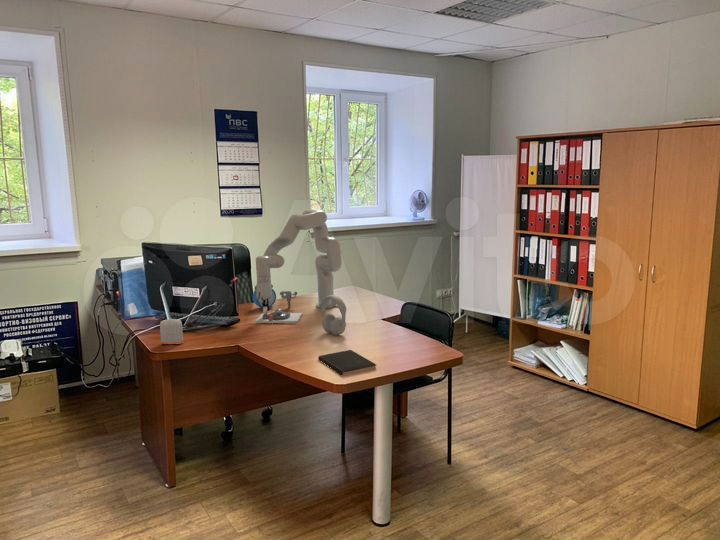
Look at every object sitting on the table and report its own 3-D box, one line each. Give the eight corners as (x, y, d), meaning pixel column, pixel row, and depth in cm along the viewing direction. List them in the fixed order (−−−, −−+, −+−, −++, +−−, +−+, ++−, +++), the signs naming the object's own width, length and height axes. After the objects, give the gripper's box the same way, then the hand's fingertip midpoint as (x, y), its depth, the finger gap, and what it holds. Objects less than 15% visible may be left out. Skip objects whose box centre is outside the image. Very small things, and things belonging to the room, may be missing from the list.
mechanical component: (297, 308, 331) (296, 292, 330) (280, 308, 332) (279, 292, 330) (298, 307, 334) (297, 291, 333) (281, 307, 335) (280, 291, 333)
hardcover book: (350, 354, 247) (350, 349, 246) (376, 369, 227) (376, 364, 226) (318, 361, 239) (318, 355, 239) (342, 377, 219) (341, 371, 219)
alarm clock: (257, 310, 328) (255, 285, 326) (252, 308, 333) (251, 284, 331) (277, 307, 336) (275, 282, 333) (272, 305, 341) (271, 281, 338)
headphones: (351, 336, 272) (350, 296, 268) (338, 339, 267) (337, 299, 264) (329, 329, 286) (328, 291, 282) (317, 331, 281) (315, 293, 278)
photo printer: (184, 342, 268) (182, 317, 266) (182, 345, 264) (180, 320, 262) (162, 343, 268) (160, 318, 266) (160, 345, 264) (158, 320, 261)
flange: (288, 313, 313) (287, 302, 312) (291, 318, 302) (291, 307, 301) (261, 315, 309) (260, 304, 308) (263, 320, 298) (263, 309, 297)
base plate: (302, 315, 314) (301, 307, 314) (297, 323, 298) (297, 315, 297) (262, 315, 315) (261, 308, 315) (255, 324, 299) (255, 315, 298)
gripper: (264, 275, 312) (266, 307, 315) (250, 281, 298) (253, 313, 301) (276, 276, 309) (278, 307, 312) (262, 281, 295) (265, 314, 299)
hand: (265, 310), depth 307 cm, fingers closed
